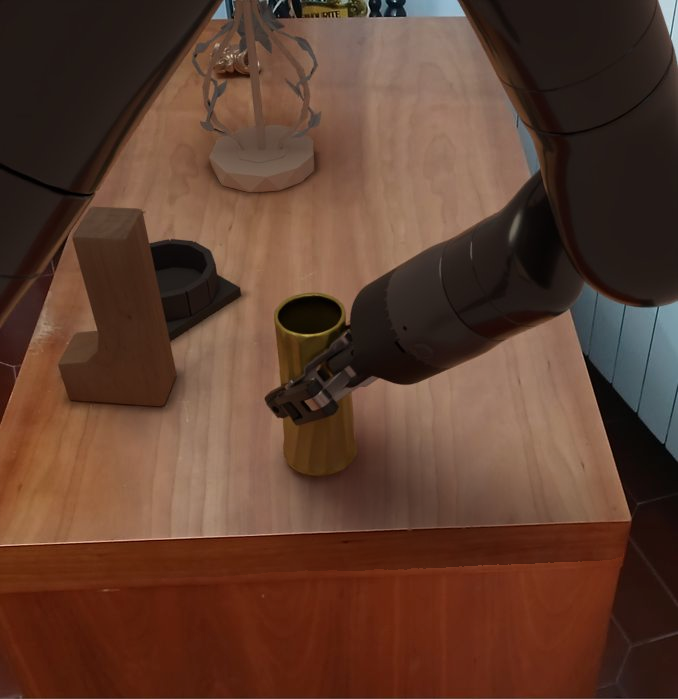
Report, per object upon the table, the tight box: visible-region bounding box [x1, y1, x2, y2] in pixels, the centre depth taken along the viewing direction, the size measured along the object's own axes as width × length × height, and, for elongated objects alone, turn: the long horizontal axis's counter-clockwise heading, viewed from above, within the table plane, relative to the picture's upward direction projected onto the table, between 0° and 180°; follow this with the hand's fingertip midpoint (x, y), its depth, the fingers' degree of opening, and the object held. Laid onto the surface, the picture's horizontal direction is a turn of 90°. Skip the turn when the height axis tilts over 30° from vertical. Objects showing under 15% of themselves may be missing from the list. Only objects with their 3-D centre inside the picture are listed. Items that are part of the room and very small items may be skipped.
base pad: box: [149, 238, 242, 342], centre depth 92 cm, size 10×10×4 cm
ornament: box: [209, 41, 262, 75], centre depth 132 cm, size 8×7×4 cm
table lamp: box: [191, 0, 322, 194], centre depth 100 cm, size 22×22×40 cm
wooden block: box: [57, 206, 177, 407], centre depth 78 cm, size 9×4×18 cm, turn 82°
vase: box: [273, 292, 358, 477], centre depth 71 cm, size 6×6×14 cm
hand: (296, 383), depth 72 cm, fingers closed on vase, 5 cm apart
